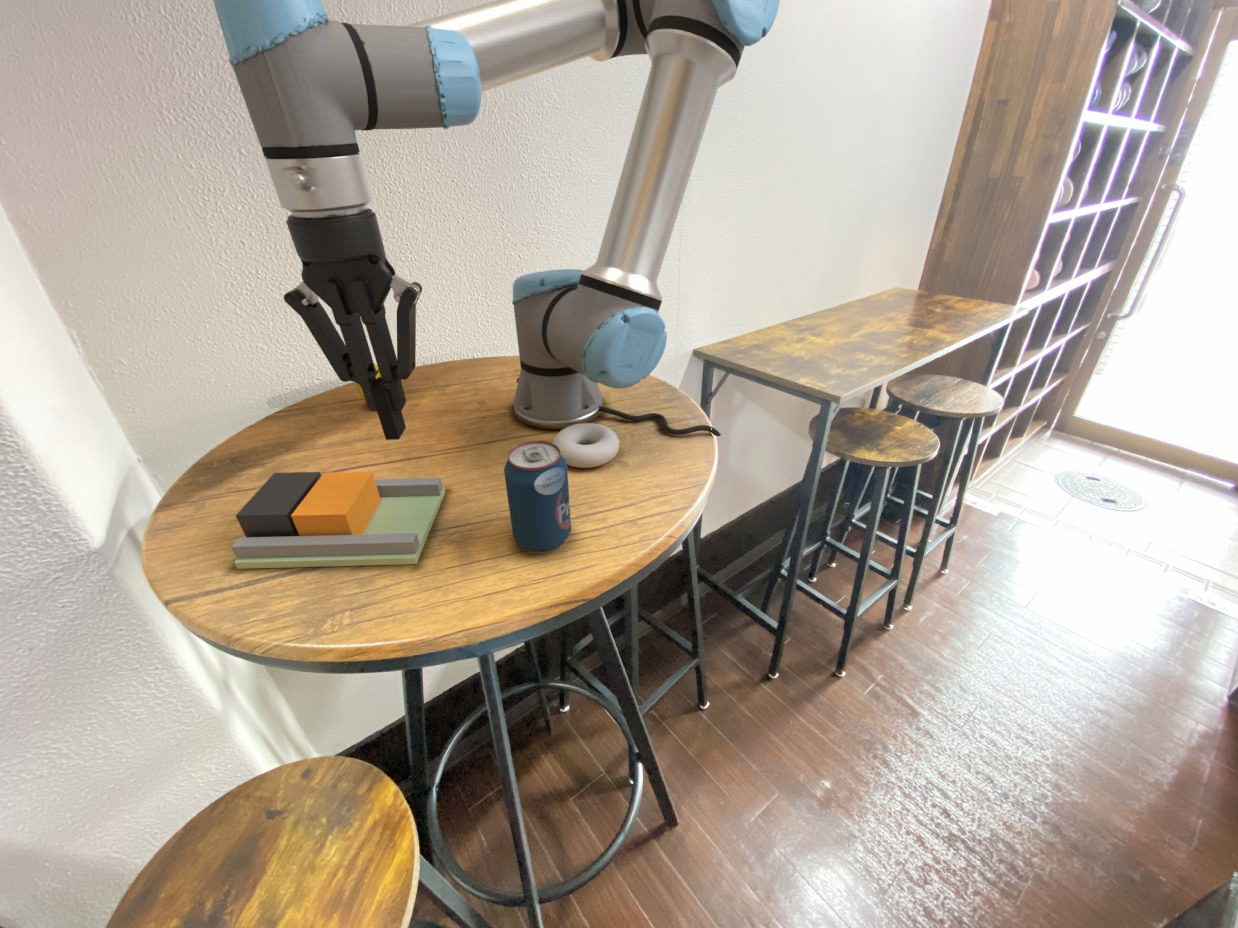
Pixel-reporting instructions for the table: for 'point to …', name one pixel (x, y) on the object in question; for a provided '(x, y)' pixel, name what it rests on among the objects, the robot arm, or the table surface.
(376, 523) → the board
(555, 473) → the soda can
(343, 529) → the matte orange brick
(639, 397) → the table surface
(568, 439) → the donut
